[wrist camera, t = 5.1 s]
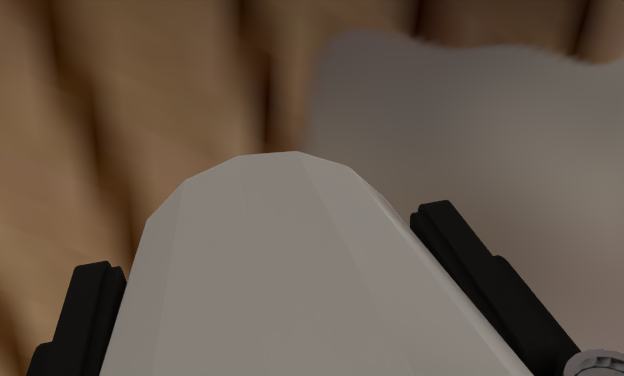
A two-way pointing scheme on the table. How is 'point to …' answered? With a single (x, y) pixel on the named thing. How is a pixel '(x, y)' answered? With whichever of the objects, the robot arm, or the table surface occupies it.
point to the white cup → (293, 283)
